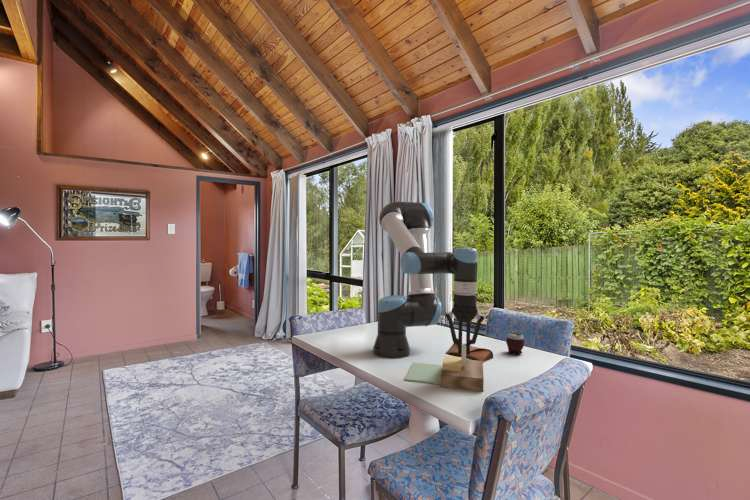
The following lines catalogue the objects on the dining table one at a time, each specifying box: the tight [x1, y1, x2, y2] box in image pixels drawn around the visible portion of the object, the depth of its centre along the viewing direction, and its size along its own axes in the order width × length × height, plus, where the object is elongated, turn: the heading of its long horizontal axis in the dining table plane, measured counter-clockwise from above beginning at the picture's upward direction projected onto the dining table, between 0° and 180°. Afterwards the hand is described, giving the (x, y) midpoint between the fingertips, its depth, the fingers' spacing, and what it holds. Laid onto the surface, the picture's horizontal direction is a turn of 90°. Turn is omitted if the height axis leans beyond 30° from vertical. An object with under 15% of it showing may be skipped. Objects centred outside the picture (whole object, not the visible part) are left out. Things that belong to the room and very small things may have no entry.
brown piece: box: [440, 359, 484, 392], centre depth 126 cm, size 13×18×4 cm
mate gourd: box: [506, 318, 531, 356], centre depth 157 cm, size 8×8×15 cm
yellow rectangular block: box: [441, 355, 462, 371], centre depth 127 cm, size 6×9×2 cm, turn 166°
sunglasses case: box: [444, 342, 494, 363], centre depth 153 cm, size 18×7×7 cm, turn 49°
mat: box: [404, 361, 443, 385], centre depth 132 cm, size 12×18×1 cm, turn 165°
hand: (463, 363), depth 126 cm, fingers closed
